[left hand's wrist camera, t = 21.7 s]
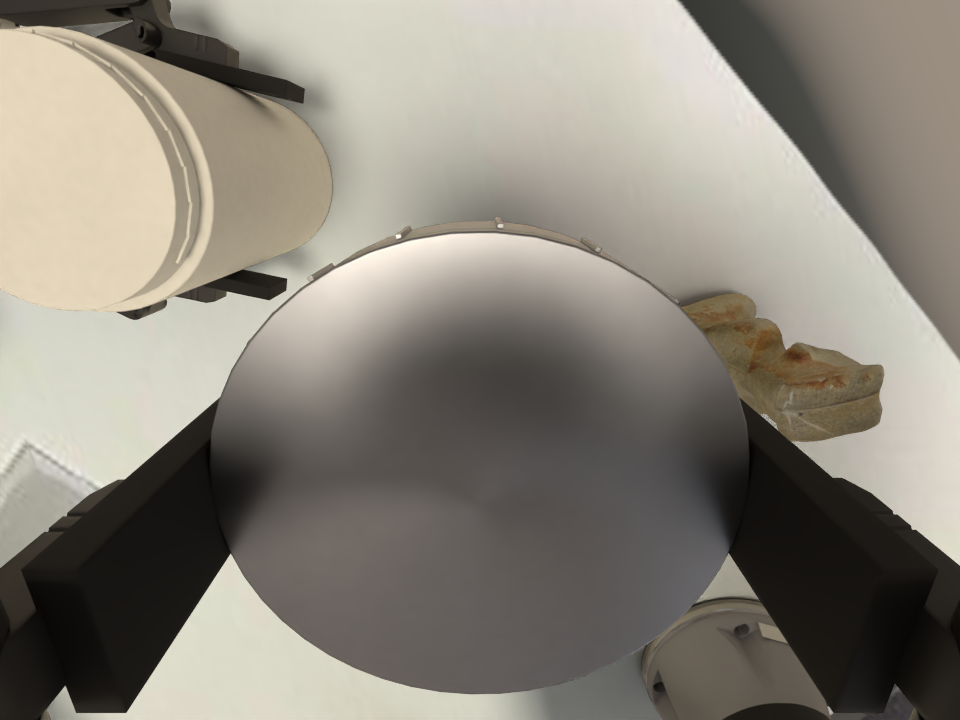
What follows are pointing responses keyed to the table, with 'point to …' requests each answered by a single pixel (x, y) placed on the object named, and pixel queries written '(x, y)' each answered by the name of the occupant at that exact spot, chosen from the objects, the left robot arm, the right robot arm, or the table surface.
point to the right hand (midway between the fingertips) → (286, 196)
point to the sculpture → (789, 373)
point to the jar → (140, 175)
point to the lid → (479, 459)
